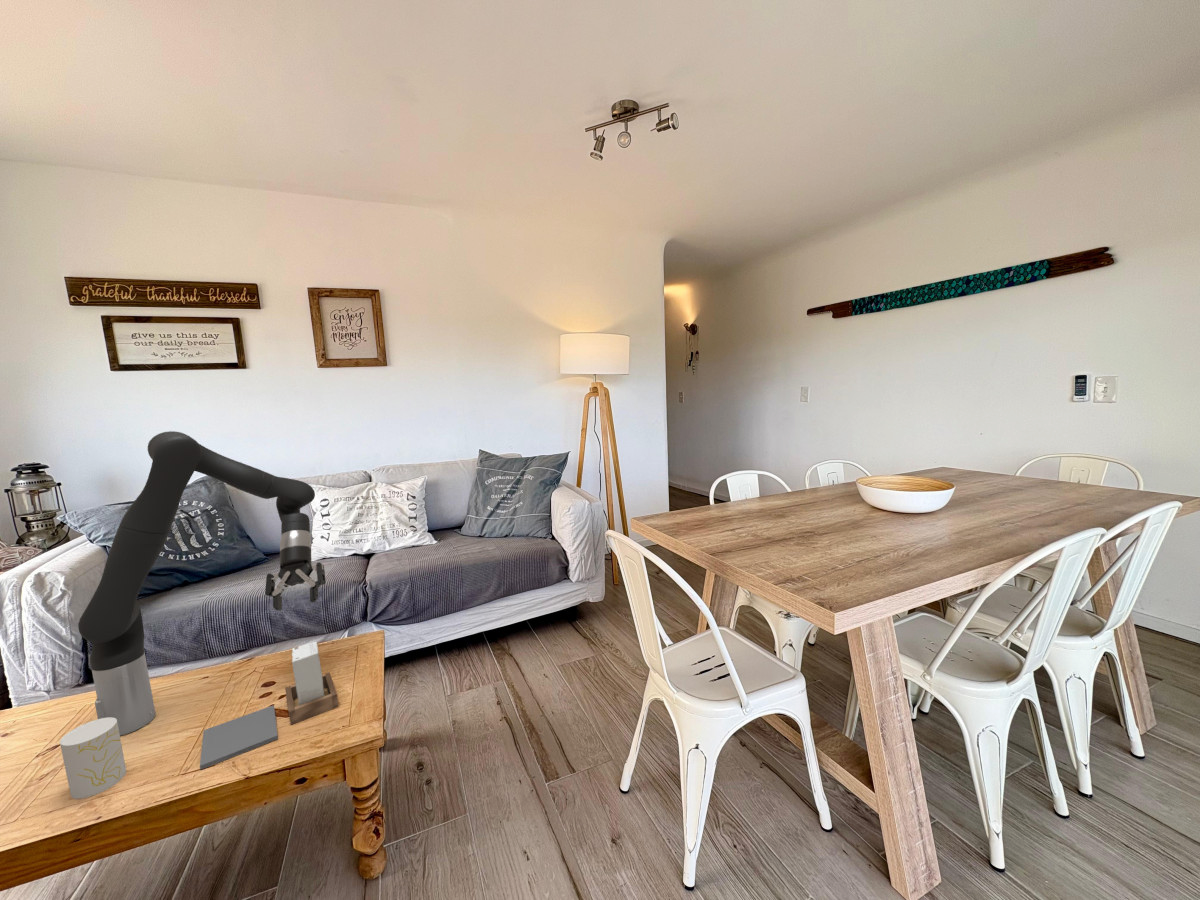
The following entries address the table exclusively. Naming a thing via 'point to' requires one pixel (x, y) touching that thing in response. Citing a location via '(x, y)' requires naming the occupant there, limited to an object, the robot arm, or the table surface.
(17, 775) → the table surface
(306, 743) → the table surface
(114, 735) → the grey patterned cylinder
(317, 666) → the skincare box
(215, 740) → the charcoal mat
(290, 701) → the walnut collar
